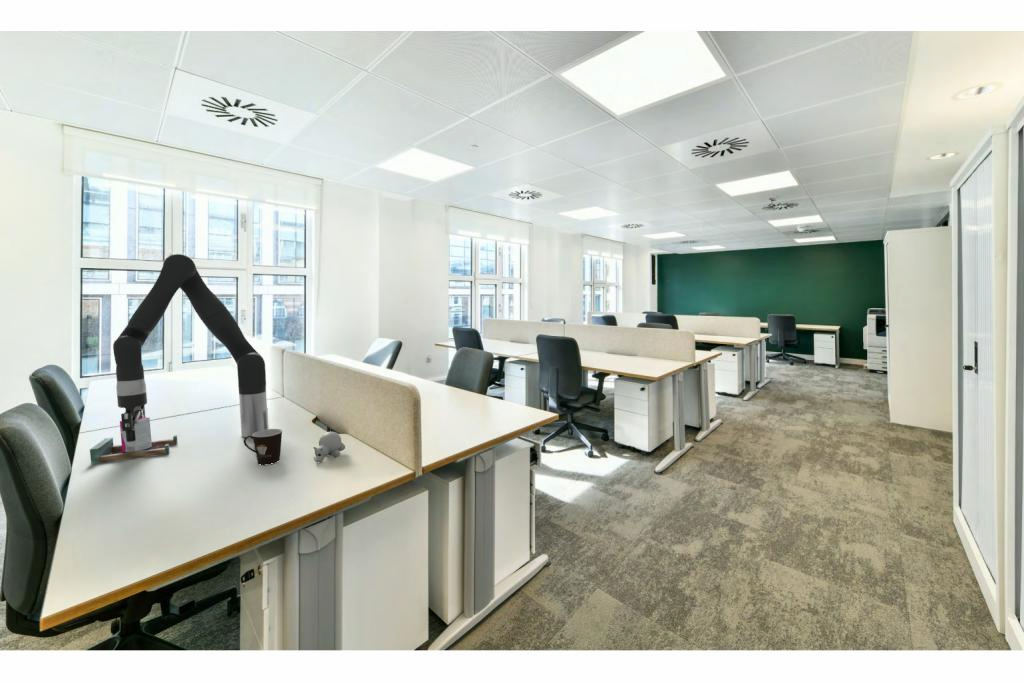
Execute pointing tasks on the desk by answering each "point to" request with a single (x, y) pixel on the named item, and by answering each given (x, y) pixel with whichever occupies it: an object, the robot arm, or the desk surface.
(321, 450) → the chubby cartoon animal
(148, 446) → the supplement box
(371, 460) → the desk surface
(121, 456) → the guide lane
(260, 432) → the coffee mug
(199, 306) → the robot arm
